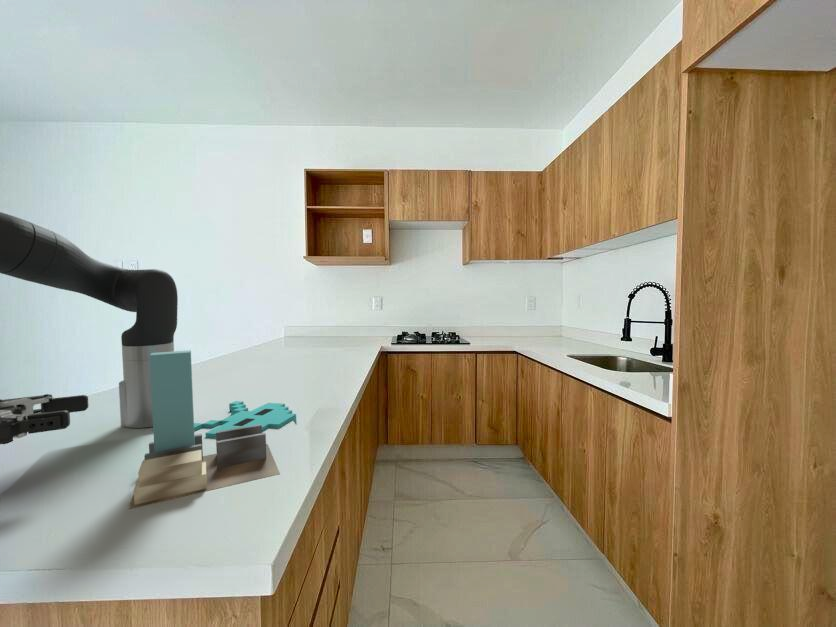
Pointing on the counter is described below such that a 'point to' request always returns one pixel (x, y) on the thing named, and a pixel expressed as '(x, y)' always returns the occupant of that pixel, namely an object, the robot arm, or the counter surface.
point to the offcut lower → (170, 487)
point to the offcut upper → (170, 468)
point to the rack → (227, 459)
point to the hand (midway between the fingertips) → (79, 410)
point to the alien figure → (250, 418)
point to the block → (172, 400)
